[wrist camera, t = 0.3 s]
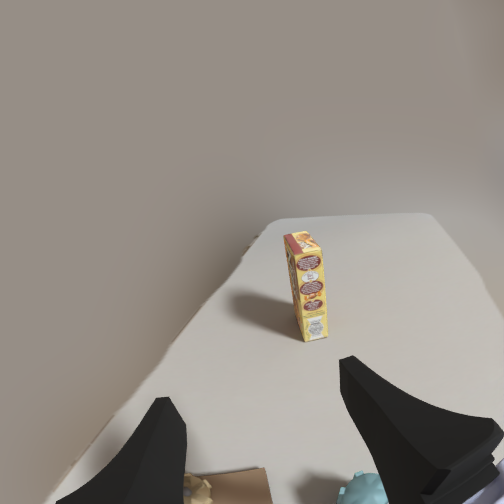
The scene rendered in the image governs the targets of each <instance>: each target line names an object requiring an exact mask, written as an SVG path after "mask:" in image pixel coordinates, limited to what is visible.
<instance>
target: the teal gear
mask: <svg viewBox="0 0 504 504" xmlns="http://www.w3.org/2000/svg"><path fill="white" fill-rule="evenodd" d="M336 504H388V499H387V496H386V493H385V490H384V487H383V484H382V481H381V478H380V476H379V474H375V473H367V474H364V473H363V471H360V472H357V473H355V474H354V477H353V480H351V481H350V482H349V483H348V485H347V486H346V488H345V487H341V489H340V492H339V495H338V499H337V503H336Z"/></svg>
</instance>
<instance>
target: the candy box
mask: <svg viewBox="0 0 504 504" xmlns="http://www.w3.org/2000/svg"><path fill="white" fill-rule="evenodd" d="M283 237H284V244H285V250H286V257H287V263H288V270H289V276H290V283H291V290H292V296H293V303H294V310H295V315H296V318H297V321H298V324H299V327H300V330H301V333H302V336H303V339H304V341H305V342H308V341H312V340H316V339H320V338H324V337H328V325H327V308H326V293H325V280H324V269H323V258H322V249H321V248H320V246H319V245H318V244H317V243H316V242H315V240H314V239H313V238H312V237H311V236H310V235H309V233H308V232H307V231H303V232H297V233H292V234H287V235H284V236H283Z"/></svg>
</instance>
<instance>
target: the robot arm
mask: <svg viewBox="0 0 504 504" xmlns="http://www.w3.org/2000/svg"><path fill="white" fill-rule="evenodd" d="M339 369H340V392H341V395H342V398H343V400H344V403H345V405H346V408H347V410H348V412H349V414H350V416H351V418H352V420H353V422H354V423H355V425H356V427H357V429H358V431H359V432H360V434H361V436H362V438H363V440H364V441H365V443H366V445H367V447H368V449H369V451H370V453H371V455H372V457H373V460H374V463H375V465H376V468H377V470H378V473H379V476H380V478H381V481H382V484H383V487H384V490H385V493H386V496H387V499H388V502H389V504H504V458H503V459H502V460H501V461H500V462H499V463H498V464H497V465H496V466H495V465H494V464H493V463H492V462H493V461H494V460H495V459H494V457H493V455H492V454H491V453H492V452H493V451H494V450H495V448H496V447H497V446H498V444H499V443H500V442H501V440H502V439H503V437H504V432H503V430H502V429H501V428H500V426H499V425H498V424H497V423H496V422H495V421H494V420H493V419H492V418H483V417H475V416H468V415H464V414H459V413H455V412H452V411H448V410H445V409H442V408H439V407H436V406H433V405H431V404H428V403H426V402H424V401H422V400H419V399H417V398H415V397H413V396H411V395H409V394H408V393H406V392H404V391H402V390H401V389H399V388H397V387H396V386H394V385H393V384H391V383H389V382H388V381H387V380H385V379H384V378H382V377H381V376H379V375H378V374H376V373H375V372H374V371H372V370H371V369H370V368H369V367H367V366H366V365H365V364H363V363H362V362H361V361H360V360H358V359H357V358H356V357H355V356H353V355H352V356H350V357H347V358H344V359H340V360H339ZM186 450H187V432H186V424H185V422H184V421H183V419H182V417H181V416H180V414H179V413H178V411H177V409H176V408H175V406H174V404H173V403H172V401H171V399H170V398H169V397H161V398H156V399H155V401H154V402H153V404H152V405H151V407H150V408H149V410H148V411H147V413H146V414H145V416H144V418H143V419H142V421H141V422H140V424H139V425H138V427H137V428H136V430H135V431H134V433H133V434H132V436H131V437H130V438H129V440H128V441H127V442H126V444H125V445H124V446H123V448H122V449H121V450H120V451H119V453H118V454H117V455H116V456H115V457H114V458H113V459H112V461H111V462H110V463H109V464H108V465H107V466H106V467H105V468H104V469H103V470H101V471H100V472H99V473H98V474H97V475H96V476H95V477H94V478H92V479H91V480H90V481H89V482H87V483H86V484H85V485H83V486H82V487H80V488H79V489H77V490H76V491H74V492H73V493H71V494H69V495H67V496H65V497H64V498H62V499H60V500H58V501H56V504H184V497H183V484H184V473H185V462H186Z"/></svg>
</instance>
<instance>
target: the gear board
mask: <svg viewBox="0 0 504 504" xmlns="http://www.w3.org/2000/svg"><path fill="white" fill-rule="evenodd" d="M183 497H184V504H273V502H272V498H271V493H270V489H269V484H268V479H267V475H266V471H265V468H259V469H254V470H248V471H241V472H234V473H227V474H218V475H208V476H196V477H194V476H193V475H192V474H191V473H187V474H184V484H183Z"/></svg>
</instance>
